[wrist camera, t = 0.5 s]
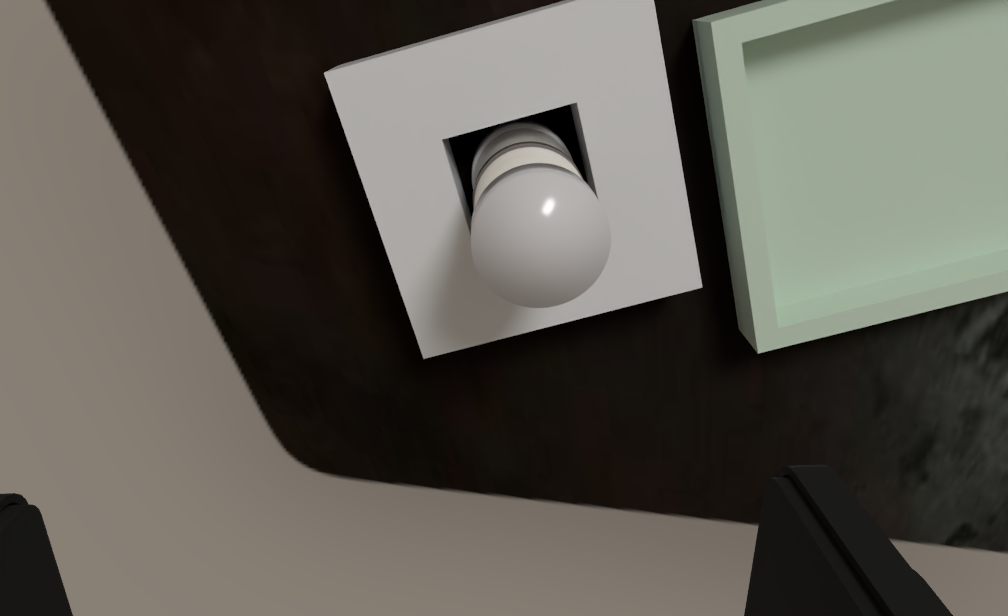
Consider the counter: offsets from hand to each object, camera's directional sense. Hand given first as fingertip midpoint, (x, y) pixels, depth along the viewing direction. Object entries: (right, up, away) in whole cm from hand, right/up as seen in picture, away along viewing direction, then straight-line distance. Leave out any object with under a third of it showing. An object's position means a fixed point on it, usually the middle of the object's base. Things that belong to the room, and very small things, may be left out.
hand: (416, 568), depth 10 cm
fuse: (+2, +9, +21) cm, 24 cm away
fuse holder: (+2, +9, +21) cm, 23 cm away
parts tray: (+18, +11, +22) cm, 30 cm away
